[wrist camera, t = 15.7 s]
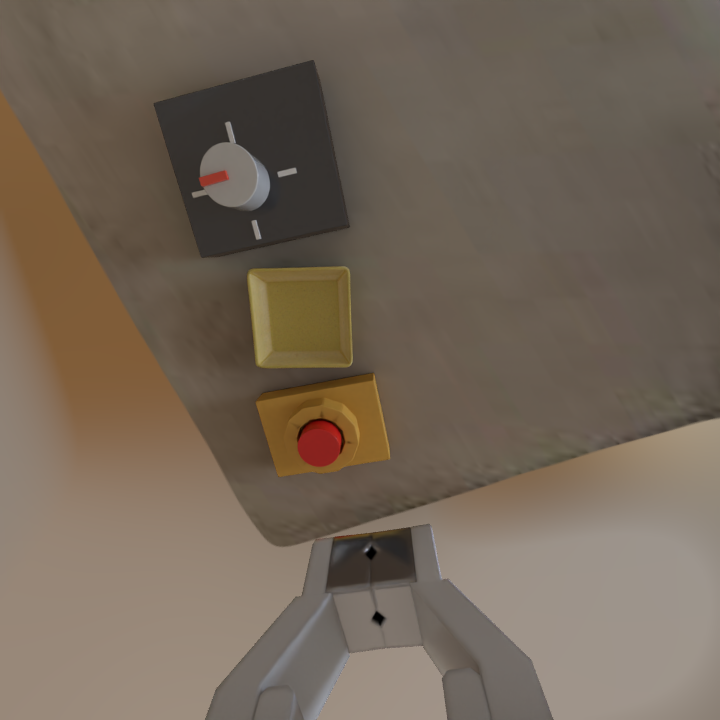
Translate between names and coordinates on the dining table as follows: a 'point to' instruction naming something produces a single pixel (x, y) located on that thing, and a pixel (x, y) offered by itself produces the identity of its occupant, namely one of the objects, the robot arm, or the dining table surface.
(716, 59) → the dining table surface
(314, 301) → the yellow square tray
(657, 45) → the dining table surface
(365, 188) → the dining table surface
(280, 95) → the panel
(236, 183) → the knob
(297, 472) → the yellow button base
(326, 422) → the stop button
